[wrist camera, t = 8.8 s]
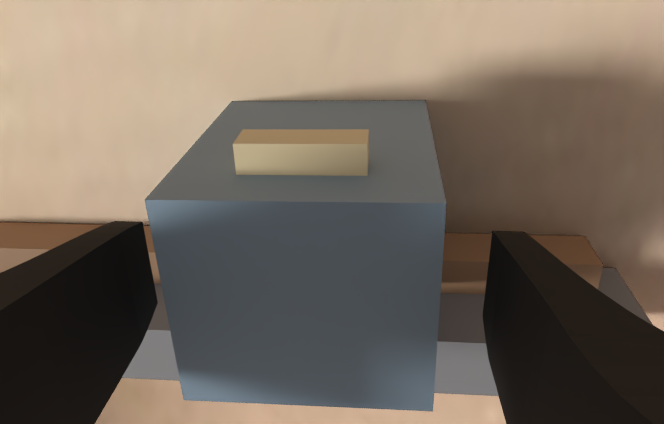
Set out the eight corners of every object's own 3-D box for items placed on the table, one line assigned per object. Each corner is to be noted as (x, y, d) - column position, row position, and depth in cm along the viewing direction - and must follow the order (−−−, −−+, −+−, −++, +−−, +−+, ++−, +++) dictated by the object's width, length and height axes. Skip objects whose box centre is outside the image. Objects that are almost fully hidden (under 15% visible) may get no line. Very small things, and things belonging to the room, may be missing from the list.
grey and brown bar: (622, 237, 16) (681, 314, 13) (604, 314, 17) (653, 403, 14) (-63, 220, 17) (-161, 285, 14) (-36, 291, 19) (-122, 365, 15)
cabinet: (426, 76, 14) (448, 168, 9) (418, 253, 17) (432, 410, 11) (229, 78, 15) (138, 166, 9) (248, 250, 17) (183, 400, 12)
